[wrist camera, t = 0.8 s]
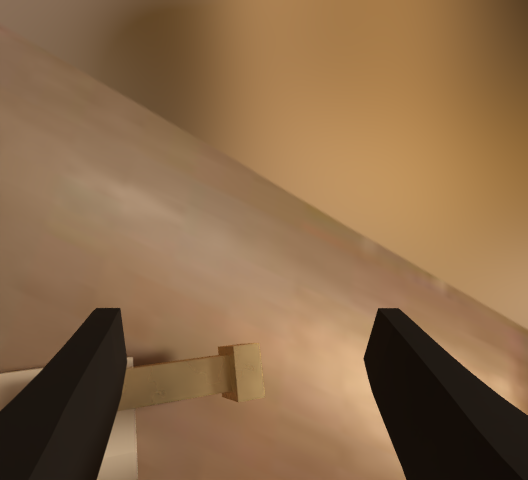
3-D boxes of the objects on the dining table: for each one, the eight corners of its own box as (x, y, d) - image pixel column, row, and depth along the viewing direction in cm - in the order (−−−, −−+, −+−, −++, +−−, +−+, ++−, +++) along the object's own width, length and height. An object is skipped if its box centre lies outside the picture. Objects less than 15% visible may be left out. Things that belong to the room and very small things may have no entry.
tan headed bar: (246, 392, 26) (265, 397, 23) (79, 422, 22) (78, 432, 19) (241, 343, 26) (259, 342, 24) (78, 364, 22) (77, 366, 20)
